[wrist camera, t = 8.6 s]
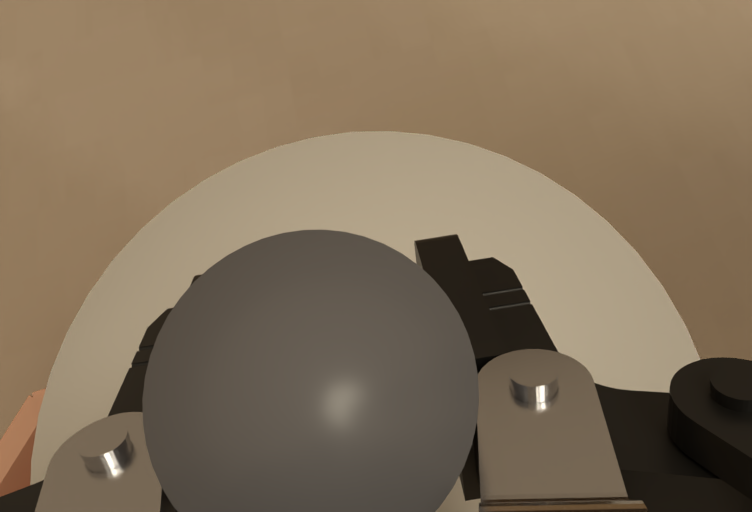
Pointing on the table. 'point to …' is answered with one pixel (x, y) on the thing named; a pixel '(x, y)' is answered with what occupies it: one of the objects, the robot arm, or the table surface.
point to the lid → (343, 323)
